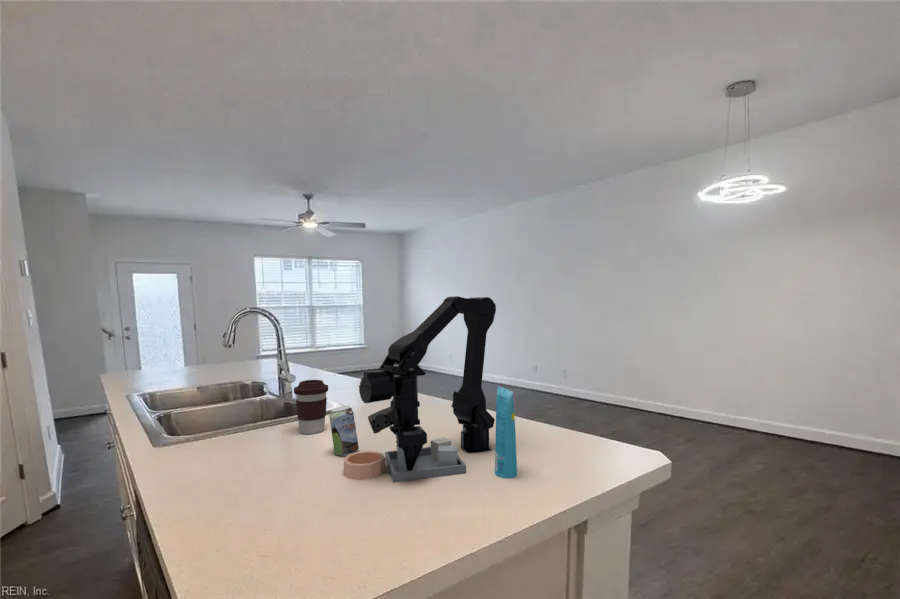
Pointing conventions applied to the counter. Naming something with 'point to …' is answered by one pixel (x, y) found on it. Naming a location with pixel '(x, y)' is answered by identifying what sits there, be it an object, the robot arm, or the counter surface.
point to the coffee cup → (311, 406)
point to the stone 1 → (402, 460)
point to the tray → (422, 467)
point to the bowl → (364, 465)
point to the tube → (505, 435)
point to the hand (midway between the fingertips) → (406, 464)
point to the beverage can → (343, 431)
